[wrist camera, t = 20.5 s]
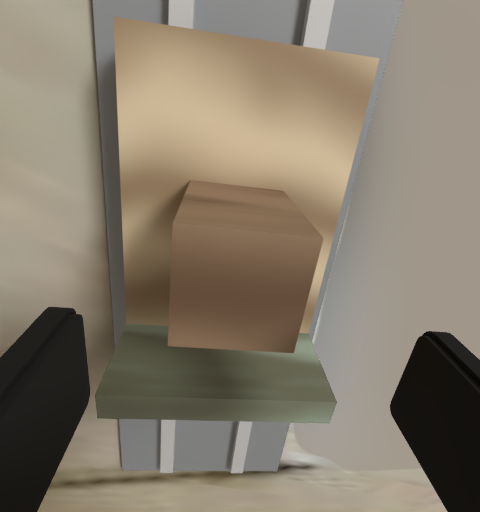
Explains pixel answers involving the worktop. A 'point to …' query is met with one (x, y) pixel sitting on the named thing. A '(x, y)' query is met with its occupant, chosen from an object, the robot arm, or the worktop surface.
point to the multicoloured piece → (225, 172)
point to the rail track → (149, 10)
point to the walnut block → (240, 269)
